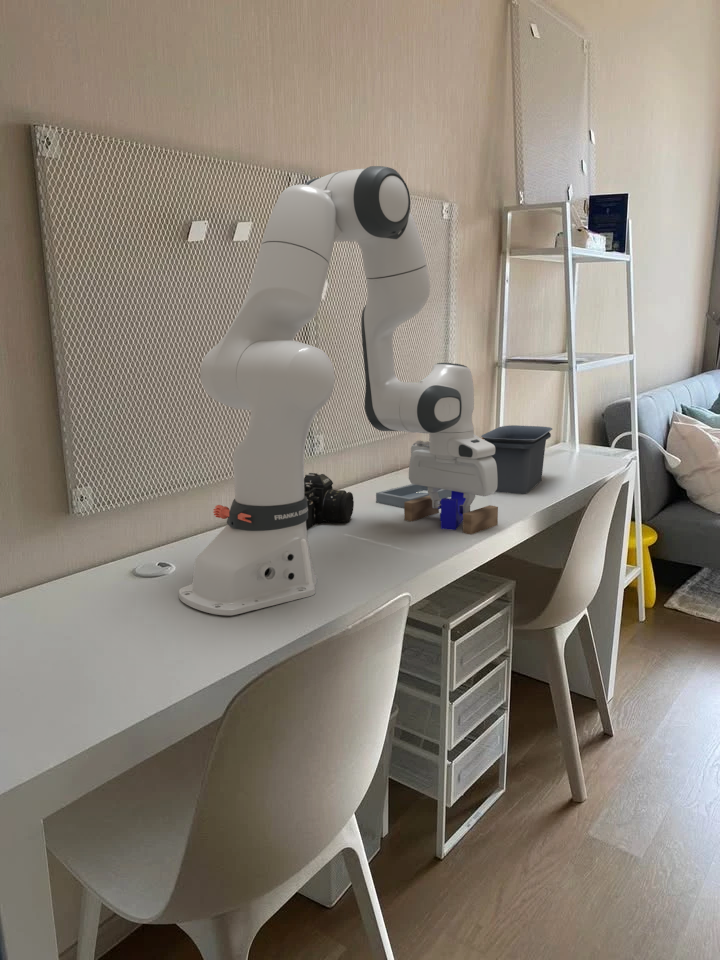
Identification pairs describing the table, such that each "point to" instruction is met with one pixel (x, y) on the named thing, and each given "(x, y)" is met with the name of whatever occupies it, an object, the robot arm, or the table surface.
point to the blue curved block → (451, 511)
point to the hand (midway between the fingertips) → (450, 511)
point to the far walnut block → (418, 508)
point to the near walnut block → (480, 519)
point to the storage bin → (518, 456)
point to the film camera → (326, 501)
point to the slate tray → (406, 495)
